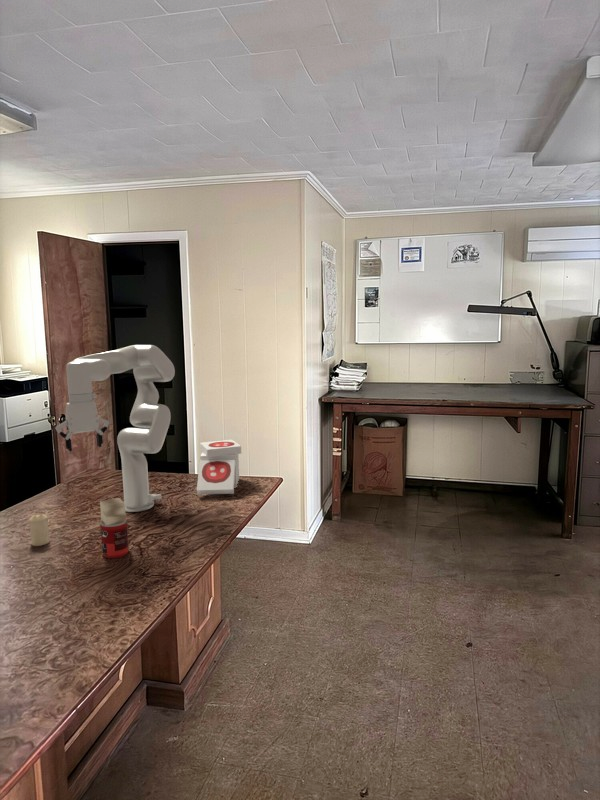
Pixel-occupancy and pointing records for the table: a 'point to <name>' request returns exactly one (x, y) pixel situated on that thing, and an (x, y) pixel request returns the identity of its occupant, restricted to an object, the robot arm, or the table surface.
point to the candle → (39, 529)
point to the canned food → (114, 539)
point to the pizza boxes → (218, 467)
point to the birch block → (112, 511)
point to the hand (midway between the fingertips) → (84, 448)
